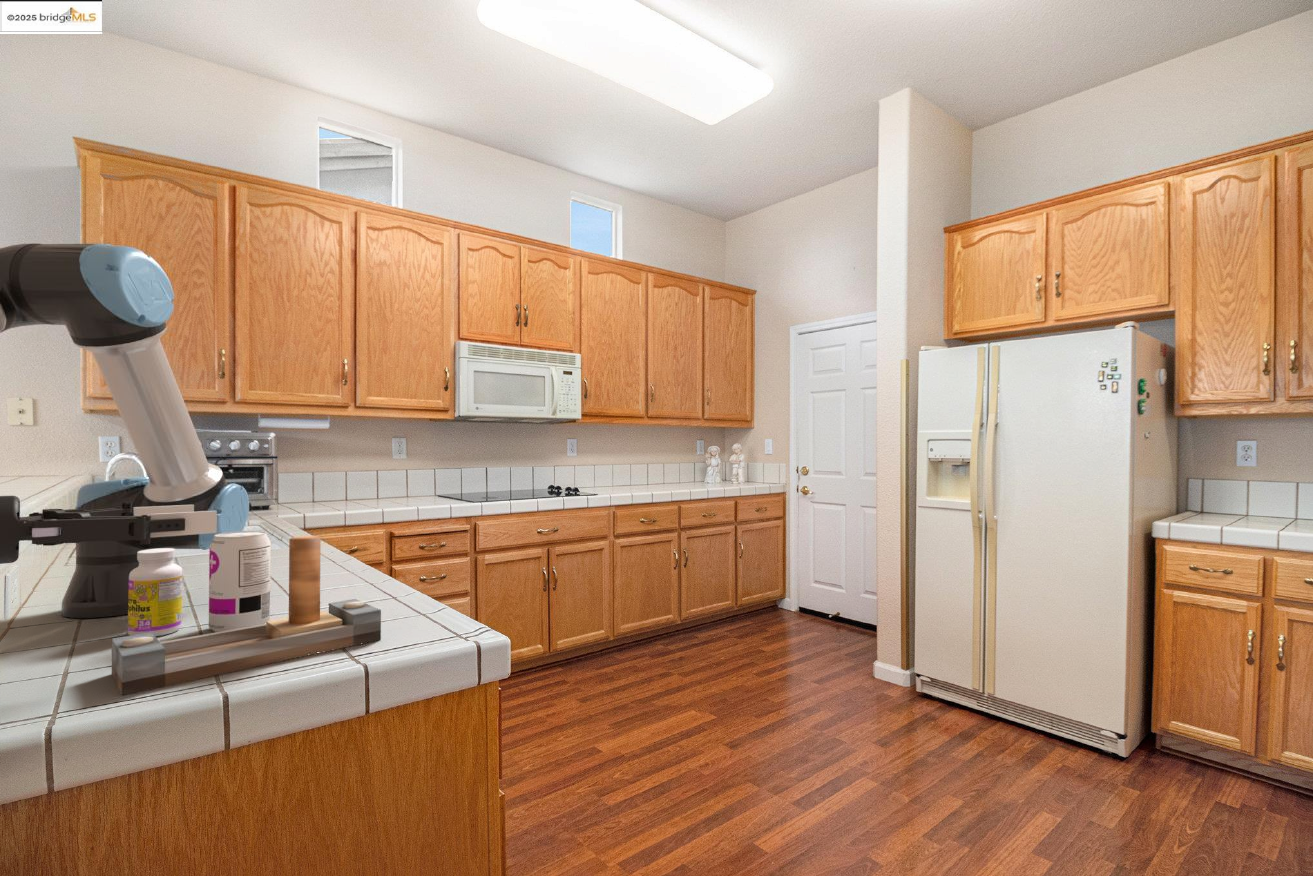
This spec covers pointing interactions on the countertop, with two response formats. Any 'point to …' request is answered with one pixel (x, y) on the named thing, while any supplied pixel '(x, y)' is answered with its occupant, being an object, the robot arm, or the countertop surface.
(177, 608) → the supplement bottle
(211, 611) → the supplement can
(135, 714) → the countertop surface
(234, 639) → the track
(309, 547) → the carriage
